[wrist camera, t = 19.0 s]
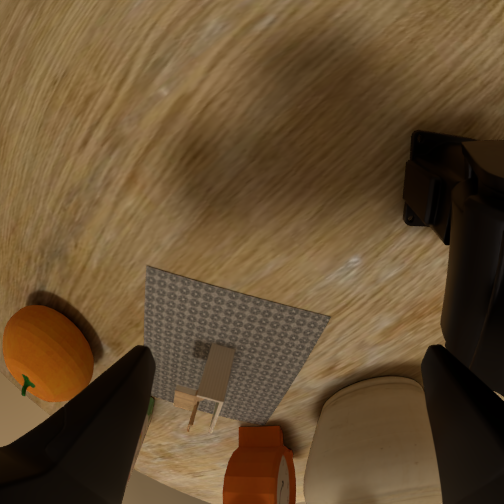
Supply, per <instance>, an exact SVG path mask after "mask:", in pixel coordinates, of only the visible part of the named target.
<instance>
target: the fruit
mask: <svg viewBox="0 0 504 504" xmlns="http://www.w3.org/2000/svg"><path fill="white" fill-rule="evenodd" d="M3 355H4V359H5V363H6V366H7V368H8V370H9V371H10V373H11V374H12V375H13V377H14V378H15V379H16V380H17V381H18V382H19V383H20V384H21V385H22V386H23V388H22V395H23V396H25V393H26V390H27V391H29V392H30V393H32V394H33V395H35V396H36V397H38V398H40V399H42V400H45V401H48V402H61V401H67V400H70V399H72V398H74V397H75V396H76V395H77V394H78V393H80V392H81V391H82V390H83V389H84V388H86V387H87V386H88V384H89V383H90V381H91V378H92V375H93V366H94V358H93V354H92V351H91V348H90V346H89V343H88V342H87V340H86V339H85V337H84V336H83V334H82V332H81V331H80V330H79V329H78V328H77V327H76V326H75V324H74V323H73V322H71V321H70V320H69V319H68V318H67V317H65V316H64V315H62V314H61V313H59V312H58V311H56V310H54V309H52V308H49V307H46V306H43V305H30V306H26V307H24V308H22V309H20V310H19V311H18V312H16V313H15V314H14V315H13V316H12V317H11V318H10V320H9V321H8V323H7V325H6V327H5V330H4V335H3Z"/></svg>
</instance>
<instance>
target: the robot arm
mask: <svg viewBox="0 0 504 504" xmlns="http://www.w3.org/2000/svg"><path fill="white" fill-rule="evenodd" d="M419 135H421V137H422V139H421V141H419V142H418V141H417V137H418V136H419ZM403 199H404V200H405V207H404V214H403V220H404V222H405V223H406V224H407V225H409V226H427V227H431V228H432V229H433V230H434V232H435V233H436V234H437V235H438V237H439V238H440V239H441V240H442V241H443V243H444V244H445V245H450V247H449V260H448V270H447V279H446V287H445V295H444V302H443V308H442V315H441V323H440V325H441V328H442V332H443V336H444V339H445V341H446V343H445V347H446V348H445V347H443V346H442V345H440V344H437V345H431V346H429V347H428V349H427V351H426V354H425V356H424V358H423V360H422V363H421V371H422V378H423V385H424V393H425V401H426V408H427V413H428V417H429V422H430V427H431V432H432V437H433V442H434V447H435V453H436V459H437V465H438V471H439V478H440V485H441V494H442V503H443V504H504V401H503V400H502V399H501V398H500V397H499V396H498V395H497V394H496V393H495V392H497V393H499V394H501V395H502V396H503V397H504V140H484V141H481V140H476V139H471V138H465V137H460V136H454V135H448V134H442V133H436V132H429V131H421V130H416V131H414V132H413V133H412V136H411V150H410V159H409V160H408V161H407V162H406V170H405V180H404V189H403ZM410 216H413V218H412V219H411V220H408V218H409V217H410ZM155 371H156V363H155V360H154V357H153V355H152V352H151V350H150V348H149V347H148V346H142V345H137V346H135V347H134V348H133V349H131V350H130V351H129V352H128V353H127V354H125V355H124V356H123V357H122V358H121V359H119V360H118V361H117V362H116V363H115V364H113V365H112V366H111V367H110V368H109V369H107V370H106V371H105V372H104V373H102V374H101V375H100V376H99V377H98V378H96V379H95V380H94V381H93V382H92V383H90V384H89V385H88V386H87V387H86V388H84V389H83V390H82V391H81V392H80V393H78V394H77V395H76V396H75V397H74V398H72V399H71V400H70V401H69V402H68V403H66V404H65V405H64V407H61V408H60V409H59V410H58V411H57V412H55V413H54V414H53V415H52V416H50V417H49V418H48V419H46V420H45V421H44V422H43V423H41V424H39V425H38V426H37V427H35V428H34V429H32V430H31V431H29V432H28V433H26V434H25V435H23V436H22V437H20V438H19V439H17V440H16V441H14V442H12V443H11V444H9V445H7V446H3V447H0V504H122V500H123V496H124V492H125V488H126V485H127V481H128V477H129V473H130V470H131V466H132V463H133V459H134V455H135V452H136V448H137V445H138V441H139V438H140V435H141V431H142V428H143V425H144V421H145V418H146V415H147V411H148V407H149V403H150V397H151V392H152V386H153V381H154V376H155ZM492 390H493V391H495V392H493V391H492Z"/></svg>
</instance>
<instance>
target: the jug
mask: <svg viewBox="0 0 504 504" xmlns="http://www.w3.org/2000/svg"><path fill="white" fill-rule="evenodd" d="M304 497H305V501H306V504H441V503H442V494H441V485H440V478H439V471H438V465H437V459H436V453H435V447H434V442H433V437H432V432H431V427H430V422H429V417H428V413H427V408H426V401H425V393H424V392H423V389H422V387H421V386H420V384H418V383H417V382H416V381H414V380H412V379H409V378H405V377H395V376H387V377H376V378H372V379H368V380H363V381H361V382H358V383H355V384H352V385H350V386H348V387H346V388H343V389H341V390H340V391H338V392H337V393H335V394H334V395H333V396H332V397H331V398H329V399H328V400H327V401H326V403H325V404H324V406H323V408H322V411H321V415H320V417H319V420H318V423H317V427H316V430H315V434H314V437H313V441H312V445H311V448H310V453H309V457H308V461H307V466H306V471H305V476H304Z"/></svg>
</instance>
